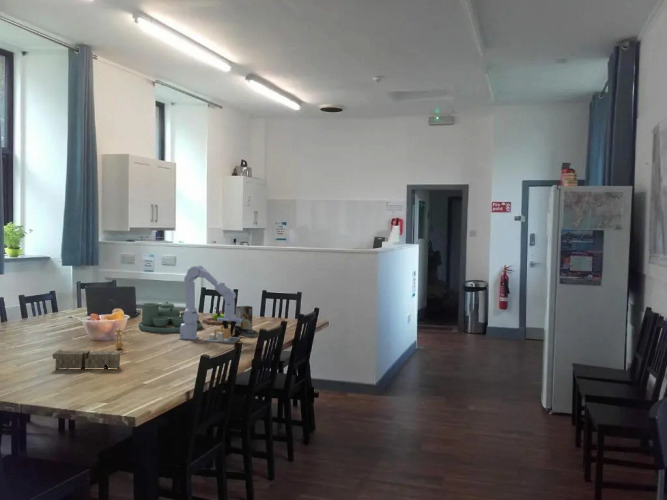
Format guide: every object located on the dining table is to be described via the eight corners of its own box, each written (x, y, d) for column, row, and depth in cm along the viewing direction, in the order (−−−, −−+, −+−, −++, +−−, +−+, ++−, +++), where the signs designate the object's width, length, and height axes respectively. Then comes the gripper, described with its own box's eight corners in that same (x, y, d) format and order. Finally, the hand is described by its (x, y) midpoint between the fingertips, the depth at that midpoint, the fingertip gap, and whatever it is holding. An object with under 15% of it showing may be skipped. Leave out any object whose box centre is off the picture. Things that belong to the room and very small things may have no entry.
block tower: (121, 367, 280) (58, 365, 277) (121, 350, 280) (58, 348, 277) (116, 372, 273) (51, 369, 269) (117, 354, 272) (52, 351, 269)
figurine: (127, 348, 319) (128, 326, 318) (125, 350, 313) (125, 328, 312) (112, 348, 317) (112, 326, 317) (109, 350, 311) (109, 328, 311)
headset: (228, 317, 369) (259, 321, 369) (226, 332, 369) (257, 336, 370) (224, 321, 355) (257, 325, 356) (222, 336, 356) (255, 340, 356)
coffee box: (247, 329, 384) (247, 305, 383) (252, 330, 379) (253, 306, 378) (235, 330, 378) (235, 306, 377) (240, 332, 373) (240, 307, 372)
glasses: (214, 337, 341) (214, 329, 340) (221, 333, 354) (221, 325, 354) (228, 338, 340) (228, 329, 339) (234, 334, 353) (234, 326, 353)
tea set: (169, 336, 356) (169, 309, 355) (125, 328, 377) (126, 303, 376) (214, 327, 390) (214, 302, 389) (172, 320, 411) (172, 297, 410)
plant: (220, 319, 421) (220, 304, 420) (238, 323, 408) (238, 307, 407) (197, 322, 406) (197, 306, 405) (215, 326, 393) (215, 310, 392)
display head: (204, 341, 341) (204, 332, 341) (211, 337, 355) (212, 328, 355) (233, 343, 339) (233, 334, 339) (240, 338, 353) (240, 329, 353)
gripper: (215, 311, 343) (215, 334, 343) (239, 312, 341) (239, 335, 341) (219, 309, 350) (219, 332, 350) (242, 311, 348) (242, 333, 348)
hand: (229, 333), depth 346 cm, fingers closed on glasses, 2 cm apart
